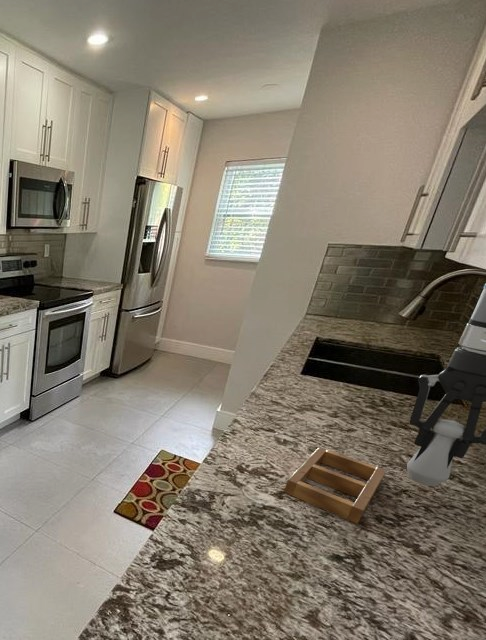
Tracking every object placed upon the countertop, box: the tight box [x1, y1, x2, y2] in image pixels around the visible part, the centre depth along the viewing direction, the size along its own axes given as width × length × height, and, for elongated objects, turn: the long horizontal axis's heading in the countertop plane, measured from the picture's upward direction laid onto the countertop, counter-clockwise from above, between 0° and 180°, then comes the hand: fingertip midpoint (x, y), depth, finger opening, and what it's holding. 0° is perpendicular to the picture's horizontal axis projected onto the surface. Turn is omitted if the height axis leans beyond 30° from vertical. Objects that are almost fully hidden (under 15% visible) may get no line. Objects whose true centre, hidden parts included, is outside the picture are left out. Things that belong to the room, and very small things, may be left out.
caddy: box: [283, 446, 387, 525], centre depth 84 cm, size 12×22×3 cm, turn 129°
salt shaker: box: [406, 419, 466, 488], centre depth 80 cm, size 6×6×13 cm
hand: (430, 464), depth 81 cm, fingers closed on salt shaker, 3 cm apart
